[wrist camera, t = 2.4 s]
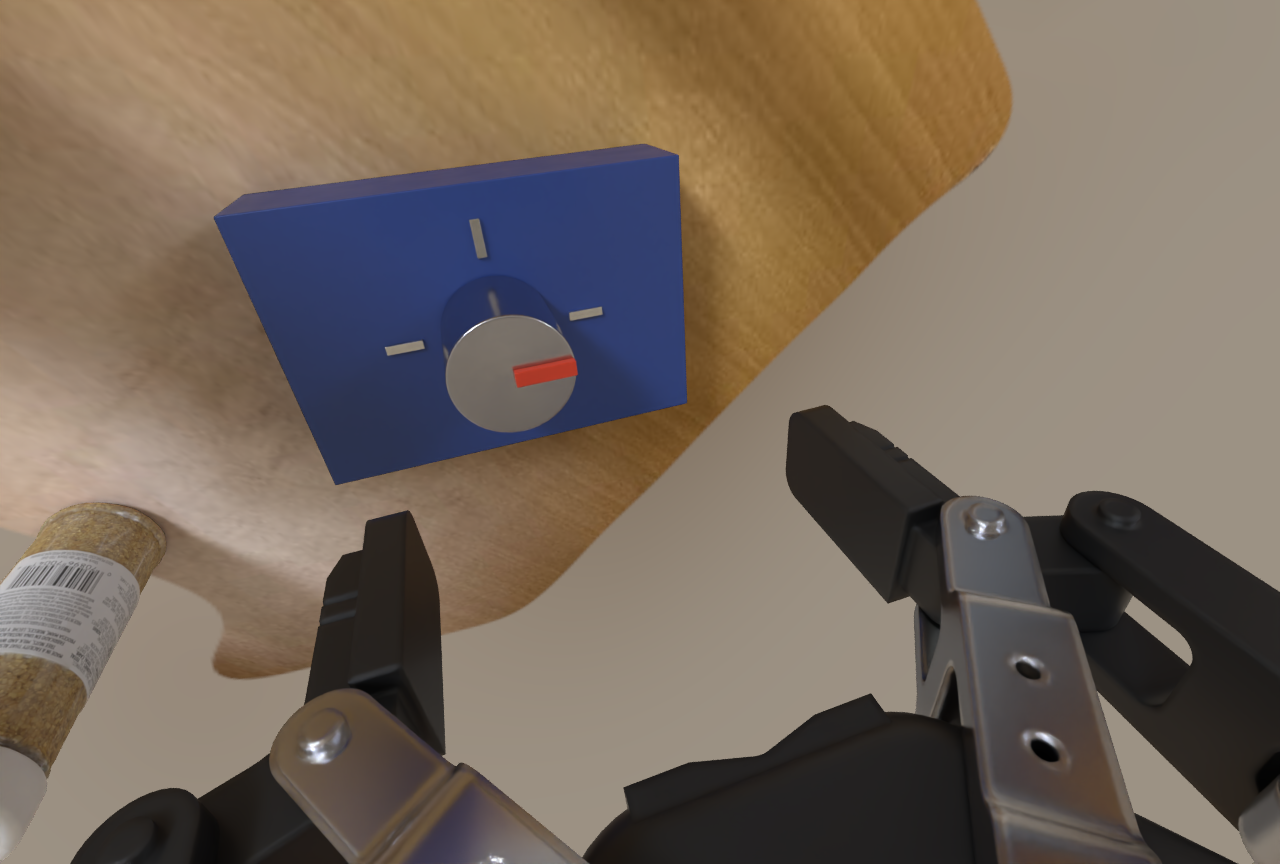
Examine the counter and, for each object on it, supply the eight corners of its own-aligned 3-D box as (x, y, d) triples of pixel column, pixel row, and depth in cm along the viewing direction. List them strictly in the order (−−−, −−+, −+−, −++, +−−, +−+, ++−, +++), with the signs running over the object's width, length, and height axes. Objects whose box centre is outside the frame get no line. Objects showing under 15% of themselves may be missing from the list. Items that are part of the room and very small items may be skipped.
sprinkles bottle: (27, 557, 26) (-247, 903, 15) (66, 482, 25) (-198, 797, 14) (148, 586, 29) (-15, 901, 18) (188, 519, 28) (41, 811, 17)
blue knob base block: (344, 437, 28) (334, 488, 25) (242, 194, 22) (210, 217, 19) (659, 368, 32) (688, 404, 28) (645, 143, 26) (680, 155, 22)
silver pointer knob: (455, 389, 24) (463, 450, 20) (427, 285, 22) (429, 332, 18) (560, 367, 25) (586, 422, 21) (543, 266, 23) (569, 306, 19)
